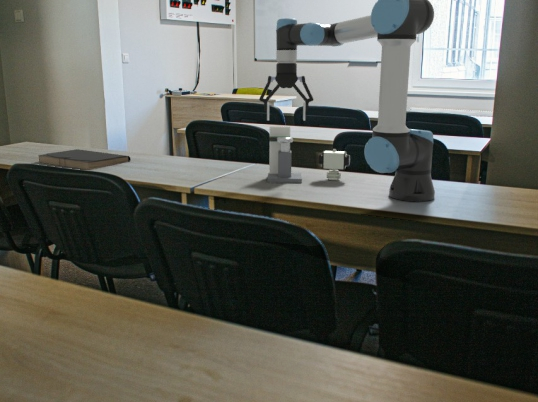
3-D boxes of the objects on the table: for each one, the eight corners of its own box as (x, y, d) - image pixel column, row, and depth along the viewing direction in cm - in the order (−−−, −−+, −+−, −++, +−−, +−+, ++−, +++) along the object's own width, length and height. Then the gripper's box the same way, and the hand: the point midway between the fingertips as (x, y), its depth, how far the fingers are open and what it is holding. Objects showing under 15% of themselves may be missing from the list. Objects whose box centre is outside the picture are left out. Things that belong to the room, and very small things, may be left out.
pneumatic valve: (348, 181, 220) (349, 150, 217) (317, 180, 223) (318, 149, 220) (349, 178, 226) (350, 148, 223) (319, 177, 228) (320, 147, 225)
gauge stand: (300, 176, 229) (301, 126, 224) (301, 182, 218) (302, 129, 213) (268, 176, 229) (268, 126, 224) (267, 182, 218) (267, 129, 214)
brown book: (37, 154, 257) (80, 148, 277) (38, 163, 258) (81, 156, 278) (87, 161, 240) (130, 154, 260) (88, 171, 241) (130, 163, 261)
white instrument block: (292, 164, 226) (292, 136, 223) (292, 167, 219) (293, 139, 217) (269, 164, 226) (269, 136, 223) (268, 167, 220) (269, 138, 217)
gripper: (319, 62, 216) (318, 119, 221) (253, 62, 217) (253, 119, 222) (321, 62, 209) (319, 121, 214) (252, 62, 209) (252, 121, 214)
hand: (286, 120), depth 218 cm, fingers open, 13 cm apart
